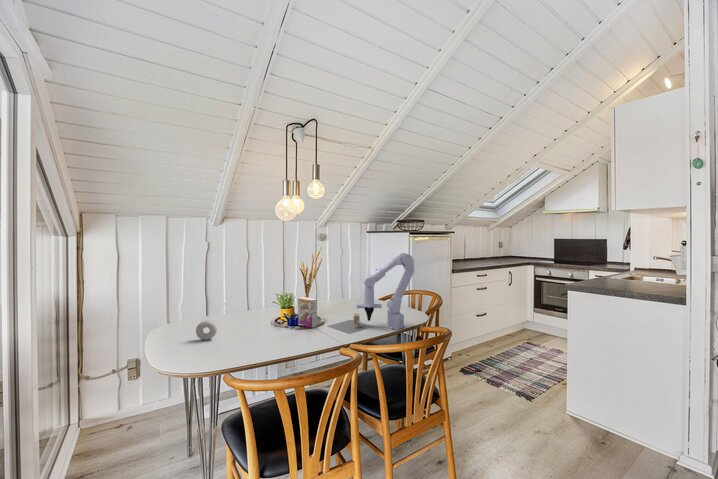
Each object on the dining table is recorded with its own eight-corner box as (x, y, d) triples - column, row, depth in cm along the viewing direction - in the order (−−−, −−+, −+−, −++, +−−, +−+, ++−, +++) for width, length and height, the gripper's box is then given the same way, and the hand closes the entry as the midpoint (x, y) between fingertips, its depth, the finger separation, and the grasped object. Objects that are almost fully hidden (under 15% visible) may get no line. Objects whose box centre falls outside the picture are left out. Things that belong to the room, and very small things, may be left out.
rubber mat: (374, 327, 196) (374, 326, 196) (349, 334, 182) (349, 334, 182) (351, 320, 210) (351, 319, 210) (326, 326, 196) (326, 326, 196)
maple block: (358, 325, 199) (358, 313, 198) (359, 328, 193) (359, 316, 192) (353, 325, 198) (353, 313, 198) (354, 328, 192) (354, 316, 192)
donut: (195, 341, 170) (194, 322, 169) (196, 339, 173) (196, 320, 173) (216, 340, 172) (216, 321, 172) (217, 338, 176) (217, 319, 175)
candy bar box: (297, 325, 199) (297, 298, 198) (303, 323, 203) (303, 296, 202) (311, 328, 193) (311, 300, 192) (317, 326, 197) (317, 299, 196)
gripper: (357, 298, 191) (357, 322, 191) (382, 298, 192) (382, 321, 193) (356, 296, 198) (356, 319, 198) (380, 296, 199) (380, 318, 200)
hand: (368, 320), depth 196 cm, fingers closed
